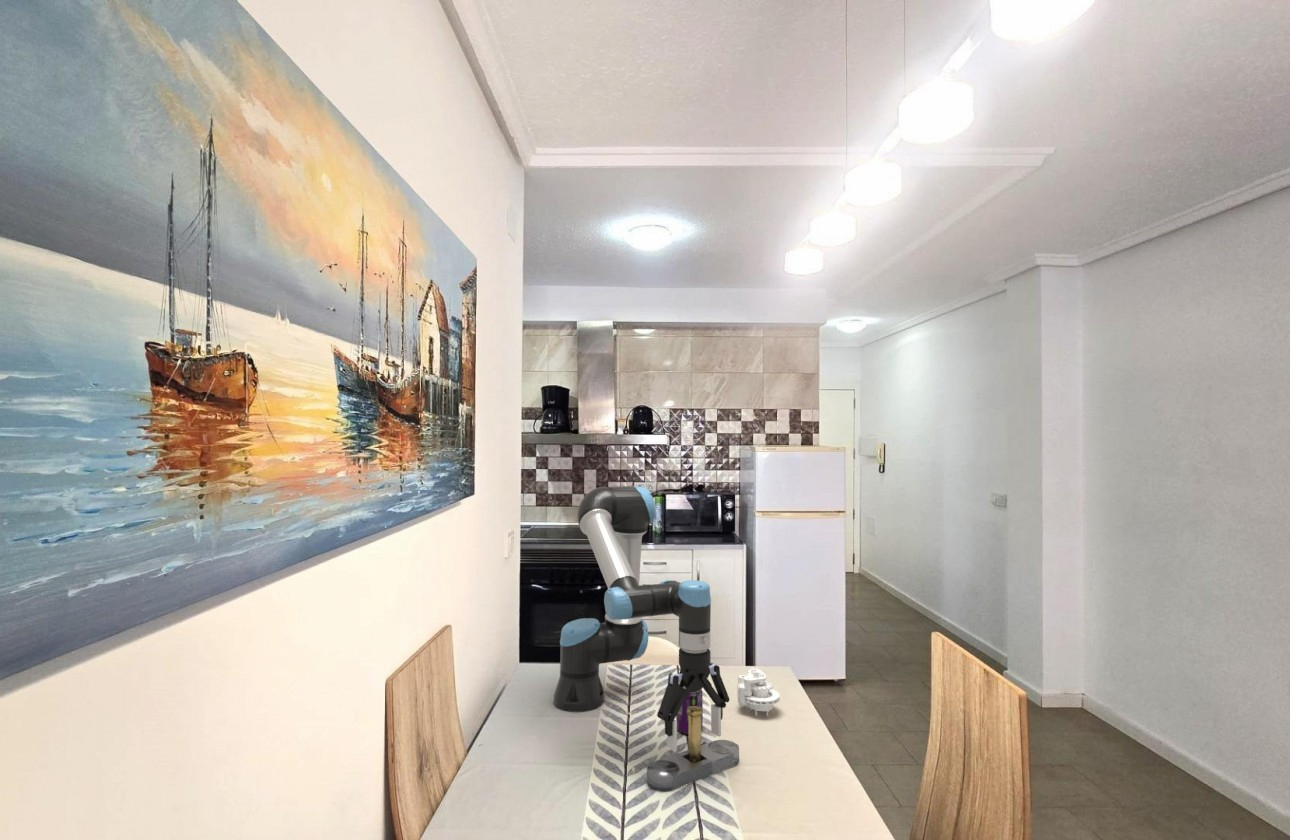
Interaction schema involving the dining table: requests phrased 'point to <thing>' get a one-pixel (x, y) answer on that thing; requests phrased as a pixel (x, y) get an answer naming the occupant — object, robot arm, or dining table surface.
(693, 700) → the beverage can
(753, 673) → the mechanical part
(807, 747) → the dining table surface
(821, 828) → the dining table surface
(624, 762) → the dining table surface
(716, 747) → the slotted metal plate
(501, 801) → the dining table surface
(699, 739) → the pin
